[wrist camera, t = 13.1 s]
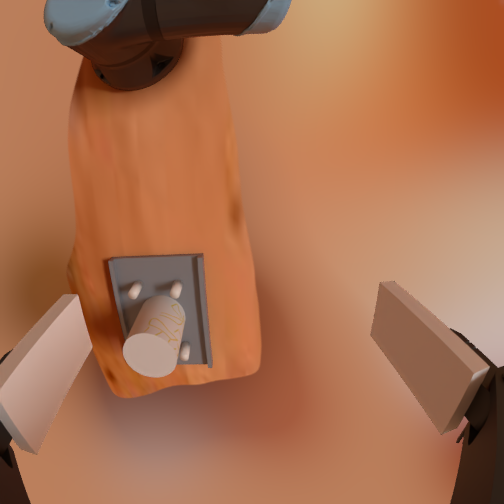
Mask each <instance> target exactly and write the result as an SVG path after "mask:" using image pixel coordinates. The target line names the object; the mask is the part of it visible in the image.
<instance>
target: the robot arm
mask: <svg viewBox="0 0 504 504" xmlns="http://www.w3.org/2000/svg"><path fill="white" fill-rule="evenodd" d="M290 3H291V0H47V1H46V4H45V9H44V23H45V26H46V28H47V30H48V31H49V32H50V34H52V35H53V36H54V37H56V38H57V40H58V41H59V42H60V43H61V44H62V45H65V46H67V47H69V48H71V49H73V50H74V51H76V52H78V53H79V54H81V55H83V56H84V57H86V58H88V59H90V60H91V63H92V66H93V69H94V71H95V73H96V75H97V76H98V77H99V78H100V79H101V80H102V81H103V82H104V83H106V84H108V85H110V86H111V87H113V88H116V89H119V90H127V91H130V90H139V89H143V88H146V87H148V86H151V85H153V84H155V83H157V82H158V81H160V80H161V79H162V78H164V77H165V76H166V75H167V74H168V73H169V72H170V71H171V70H172V69H173V68H174V66H175V65H176V63H177V62H178V60H179V58H180V55H181V53H182V49H183V38H189V37H200V36H214V35H234V36H241V35H244V34H261V33H268V32H270V31H272V30H274V29H276V28H277V27H278V26H279V25H280V24H281V22H282V21H283V19H284V18H285V15H286V14H287V11H288V9H289V6H290ZM371 337H372V338H373V339H374V341H375V342H376V343H377V345H378V346H379V347H380V349H381V350H382V352H383V353H384V354H385V356H386V357H387V358H388V360H389V361H390V362H391V364H392V365H393V366H394V368H395V369H396V370H397V372H398V373H399V375H400V376H401V378H402V379H403V380H404V382H405V383H406V385H407V386H408V387H409V389H410V390H411V392H412V393H413V395H414V396H415V397H416V399H417V400H418V402H419V403H420V405H421V406H422V407H423V409H424V410H425V412H426V413H427V415H428V416H429V418H430V419H431V421H432V422H433V423H434V425H435V426H436V428H437V429H438V431H439V432H440V434H441V435H442V434H444V433H447V432H449V431H451V430H453V429H456V428H457V427H458V426H459V424H460V422H461V421H462V419H463V417H464V416H465V417H466V418H467V420H468V421H469V422H468V423H467V425H466V427H465V428H464V430H463V431H462V433H461V434H460V436H459V437H458V439H457V442H456V443H459V442H460V440H461V439H462V437H464V440H463V447H462V453H461V459H460V464H459V469H458V474H457V478H456V483H455V487H454V492H453V495H452V499H451V503H450V504H504V366H502V367H499V368H497V366H495V365H494V364H493V363H492V362H491V361H490V360H489V359H488V358H487V357H486V356H485V355H484V354H483V353H482V352H481V351H479V349H478V348H476V347H475V346H474V345H473V344H472V343H469V340H468V339H467V338H465V337H464V336H463V335H462V334H461V333H459V332H457V331H455V330H453V329H451V328H450V329H449V328H448V327H447V326H446V325H445V324H444V323H443V322H441V321H440V320H439V319H438V318H437V317H436V316H435V315H433V314H432V313H431V312H430V311H429V310H428V309H427V308H425V307H424V306H423V305H422V304H421V303H420V302H419V301H417V300H416V299H415V298H414V297H413V296H411V295H410V294H409V293H408V292H407V291H406V290H404V289H403V288H402V287H401V286H399V285H398V284H397V283H396V282H395V281H389V282H380V284H379V291H378V297H377V303H376V309H375V314H374V319H373V324H372V329H371ZM91 349H92V344H91V341H90V337H89V334H88V331H87V327H86V324H85V320H84V317H83V313H82V309H81V305H80V301H79V297H78V295H75V294H70V295H69V294H67V295H66V294H64V295H63V296H62V297H61V298H60V299H59V300H58V301H57V302H56V303H55V304H54V305H53V306H52V307H51V308H50V309H49V310H48V311H47V312H46V314H45V315H44V316H43V317H42V318H41V319H40V320H39V321H38V322H37V323H36V324H35V325H34V326H33V327H32V329H31V330H30V331H29V332H28V333H27V334H26V335H25V336H24V337H23V339H22V340H21V341H20V342H19V343H18V344H17V346H16V347H15V348H14V349H12V350H11V351H9V352H8V353H6V354H5V355H4V356H3V357H2V358H1V360H0V504H31V503H30V500H29V498H28V495H27V492H26V490H25V487H24V484H23V481H22V478H21V475H20V472H19V468H18V465H17V462H16V458H15V455H14V451H13V449H12V447H11V446H10V445H9V444H10V442H11V440H12V438H13V440H14V441H15V442H16V444H17V445H18V446H19V448H21V449H22V450H25V451H27V452H30V453H33V454H36V455H37V453H38V451H39V449H40V447H41V445H42V442H43V440H44V438H45V436H46V434H47V432H48V430H49V428H50V425H51V424H52V421H53V419H54V417H55V415H56V413H57V411H58V409H59V407H60V405H61V403H62V401H63V400H64V398H65V396H66V394H67V392H68V390H69V388H70V386H71V385H72V383H73V381H74V379H75V377H76V375H77V374H78V372H79V370H80V368H81V366H82V365H83V362H84V361H85V359H86V358H87V356H88V354H89V352H90V351H91Z"/></svg>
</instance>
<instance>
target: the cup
mask: <svg viewBox="0 0 504 504" xmlns="http://www.w3.org/2000/svg"><path fill="white" fill-rule="evenodd" d="M185 319H186V317H185V312H184V309H183V308H182V306H181V305H180V304H179V303H178V302H177V301H176V300H174V299H173V298H170V297H168V296H163V295H158V296H153V297H151V298H149V299H147V300H146V301H145V302H144V304H143V306H142V308H141V310H140V312H139V314H138V316H137V318H136V320H135V322H134V324H133V326H132V328H131V330H130V333H129V335H128V337H127V339H126V341H125V343H124V346H123V355H124V358H125V360H126V362H127V363H128V365H129V366H130V367H131V368H132V369H133V370H135V371H136V372H138V373H140V374H142V375H145V376H148V377H163V376H166V375H168V374H170V373H171V372H172V371H173V370H174V369H175V367H176V364H177V359H178V354H179V349H180V344H181V339H182V334H183V329H184V324H185Z"/></svg>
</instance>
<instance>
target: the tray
mask: <svg viewBox="0 0 504 504" xmlns="http://www.w3.org/2000/svg"><path fill="white" fill-rule="evenodd" d="M108 263H109V269H110V275H111V280H112V285H113V291H114V296H115V300H116V305H117V310H118V314H119V319H120V323H121V327H122V331H123V335H124V339H125V341H126V339H127V337H128V335H129V333H130V330H131V328H132V326H133V324H134V322H135V320H136V318H137V316H138V314H139V312H140V310H141V308H142V306H143V304H144V302H145V301H146V300H147V299H149V298H151V297H153V296H158V295H163V296H168V297H170V298H173V299H174V300H176V301H177V302H178V303H179V304H180V305H181V306H182V308H183V309H184V312H185V317H186V319H185V324H184V329H183V334H182V339H181V344H180V349H179V354H178V359H177V364H208V368H212V363H213V360H212V350H211V341H210V331H209V320H208V309H207V297H206V284H205V271H204V257H203V253H202V254H176V255H151V256H125V257H112V258H111V259H110V260H109V261H108Z"/></svg>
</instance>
